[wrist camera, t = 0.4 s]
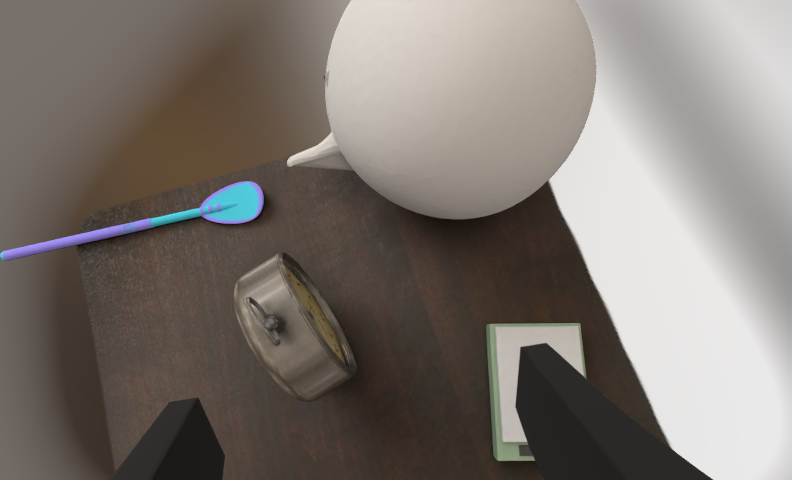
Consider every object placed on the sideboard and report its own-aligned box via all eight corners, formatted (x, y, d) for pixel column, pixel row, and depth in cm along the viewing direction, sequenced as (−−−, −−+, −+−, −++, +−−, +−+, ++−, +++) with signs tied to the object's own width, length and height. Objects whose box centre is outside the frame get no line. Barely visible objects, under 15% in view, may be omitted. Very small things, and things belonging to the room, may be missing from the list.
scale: (587, 455, 37) (598, 461, 35) (493, 456, 37) (499, 462, 35) (573, 324, 40) (582, 322, 38) (485, 324, 40) (490, 323, 38)
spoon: (262, 179, 43) (259, 175, 42) (270, 218, 42) (267, 215, 41) (4, 236, 42) (-8, 234, 40) (8, 278, 41) (-4, 277, 40)
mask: (543, -8, 42) (370, -147, 30) (717, 40, 29) (535, -167, 17) (434, 185, 50) (268, 137, 39) (531, 287, 38) (328, 260, 26)
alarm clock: (366, 368, 39) (346, 379, 23) (313, 402, 38) (255, 437, 22) (306, 266, 41) (251, 212, 25) (256, 296, 40) (166, 260, 25)
